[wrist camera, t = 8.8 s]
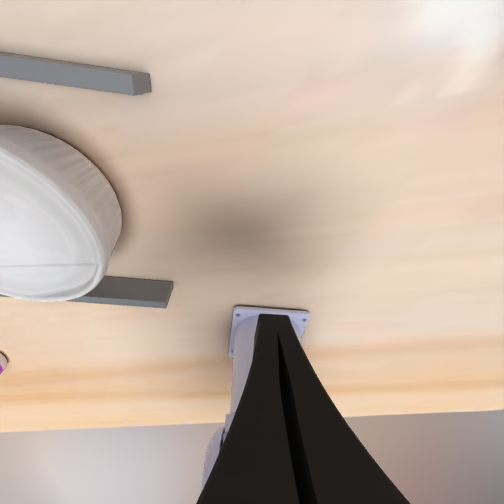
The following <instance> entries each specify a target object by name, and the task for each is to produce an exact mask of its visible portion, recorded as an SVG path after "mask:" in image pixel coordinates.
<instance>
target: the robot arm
mask: <svg viewBox="0 0 504 504" xmlns="http://www.w3.org/2000/svg"><path fill="white" fill-rule="evenodd" d="M309 318H310V313H309V312H307V311H297V310H283V309H270V308H257V307H243V306H237V307H235V308H234V311H233V320H232V328H231V337H230V345H229V354H228V356H229V357H230V358H233V373H232V390H231V407H230V414H226V420H225V427H219V428H218V429H217V430H216V432H215V433H214V435H213V436H212V437H211V439H210V441H209V444H208V448H207V452H206V457H205V463H204V471H203V481H202V492H201V495H200V497H199V499H198V501H197V503H196V504H410V503H409V501H408V500H407V499H406V498H405V497H404V496H403V494H402V493H401V492H400V491H399V490H398V489H397V487H396V486H395V485H394V484H393V483H392V481H391V480H390V479H389V478H388V477H387V476H386V474H385V473H384V472H383V470H382V469H381V468H380V467H379V465H378V464H377V463H376V462H375V460H374V459H373V458H372V457H371V455H370V454H369V453H368V452H367V450H366V449H365V447H364V446H363V445H362V443H361V442H360V440H359V439H358V438H357V436H356V435H355V434H354V432H353V431H352V430H351V428H350V427H349V426H348V424H347V423H346V421H345V420H344V418H343V417H342V415H341V414H340V412H339V411H338V409H337V408H336V406H335V405H334V403H333V402H332V400H331V399H330V397H329V395H328V394H327V392H326V390H325V389H324V387H323V385H322V384H321V382H320V380H319V379H318V377H317V375H316V373H315V371H314V370H313V368H312V366H311V364H310V362H309V360H308V358H307V356H306V354H305V352H304V350H303V348H302V343H301V337H302V335H303V332H304V330H305V328H306V325H307V323H308V321H309Z"/></svg>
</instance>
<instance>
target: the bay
mask: <svg viewBox="0 0 504 504" xmlns="http://www.w3.org/2000/svg"><path fill="white" fill-rule="evenodd" d="M0 77H6V78H13V79H20V80H28V81H35V82H42V83H49V84H56V85H63V86H70V87H78V88H85V89H92V90H99V91H106V92H113V93H120V94H128V95H139V94H143V93H147V92H151V82H150V74H147V73H141V72H134V71H127V70H120V69H113V68H107V67H100V66H93V65H86V64H80V63H73V62H66V61H59V60H52V59H46V58H39V57H32V56H25V55H19V54H12V53H5V52H0ZM172 290H173V282H170V281H158V280H146V279H133V278H121V277H109V276H104V277H103V278H102V280H101V281H100V282H99V284H98V285H97V286H96V287H95V288H94V289H93V290H91V291H90V292H88V293H87V294H85V295H83V296H81V297H78V298H75V299H72V300H66V301H72V302H86V303H99V304H113V305H127V306H141V307H155V308H166V307H167V304H168V301H169V298H170V296H171V293H172ZM0 296H3V297H10V296H6V295H2V294H0Z"/></svg>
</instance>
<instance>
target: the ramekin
mask: <svg viewBox="0 0 504 504" xmlns="http://www.w3.org/2000/svg"><path fill="white" fill-rule="evenodd" d="M121 228H122V216H121V209H120V205H119V202H118V200H117V197H116V194H115V193H114V191H113V189H112V187H111V185H110V184H109V182H108V181H107V179H106V178H105V176H104V175H103V174H102V173H101V172H100V171H99V169H98V168H97V167H96V166H95V165H94V164H93V163H92V162H91V161H90V160H89V159H87V158H86V157H85V156H84V155H82V154H81V153H80V152H79V151H77V150H76V149H74V148H73V147H72V146H70V145H68V144H66V143H65V142H63V141H61V140H60V139H58V138H55V137H53V136H51V135H49V134H47V133H43V132H40V131H38V130H35V129H30V128H25V127H22V126H12V125H0V294H2V295H6V296H10V297H14V298H18V299H24V300H31V301H39V302H58V301H66V300H72V299H75V298H78V297H81V296H83V295H85V294H87V293H88V292H90V291H91V290H93V289H94V288H95V287H96V286H97V285H98V284H99V282H100V281H101V280H102V278H103V277H104V275H105V273H106V271H107V269H108V265H109V260H110V256H111V253H112V251H113V249H114V247H115V244H116V242H117V240H118V238H119V236H120V233H121Z"/></svg>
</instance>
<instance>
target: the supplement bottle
mask: <svg viewBox="0 0 504 504" xmlns="http://www.w3.org/2000/svg"><path fill="white" fill-rule="evenodd" d="M6 365H7V360H6V358H5V357H4V356H3V355H2V354H1V353H0V374H1V373H2V371H3V370H4V369H5V367H6Z"/></svg>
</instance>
